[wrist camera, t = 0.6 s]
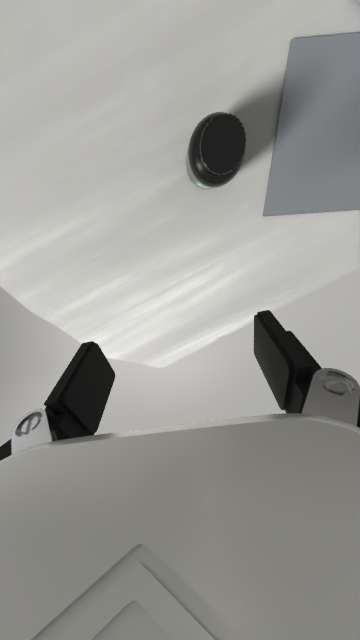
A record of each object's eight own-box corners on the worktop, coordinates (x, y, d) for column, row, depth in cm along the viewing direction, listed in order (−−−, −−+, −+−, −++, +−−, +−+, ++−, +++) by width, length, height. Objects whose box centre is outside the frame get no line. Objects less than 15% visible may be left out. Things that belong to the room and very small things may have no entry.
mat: (290, 41, 23) (292, 38, 23) (457, 26, 23) (462, 23, 22) (262, 216, 34) (263, 216, 33) (377, 208, 33) (379, 208, 33)
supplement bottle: (202, 199, 32) (213, 200, 22) (176, 158, 29) (176, 139, 19) (237, 166, 30) (268, 151, 20) (213, 119, 27) (235, 73, 17)
